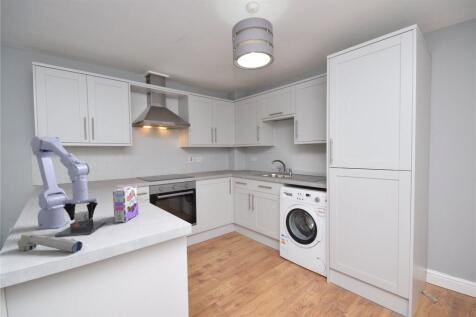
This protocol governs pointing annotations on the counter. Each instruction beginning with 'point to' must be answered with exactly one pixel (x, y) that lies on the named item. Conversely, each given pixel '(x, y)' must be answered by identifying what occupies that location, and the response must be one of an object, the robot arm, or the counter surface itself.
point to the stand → (81, 228)
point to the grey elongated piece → (48, 242)
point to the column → (81, 217)
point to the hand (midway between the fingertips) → (81, 219)
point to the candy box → (125, 204)
